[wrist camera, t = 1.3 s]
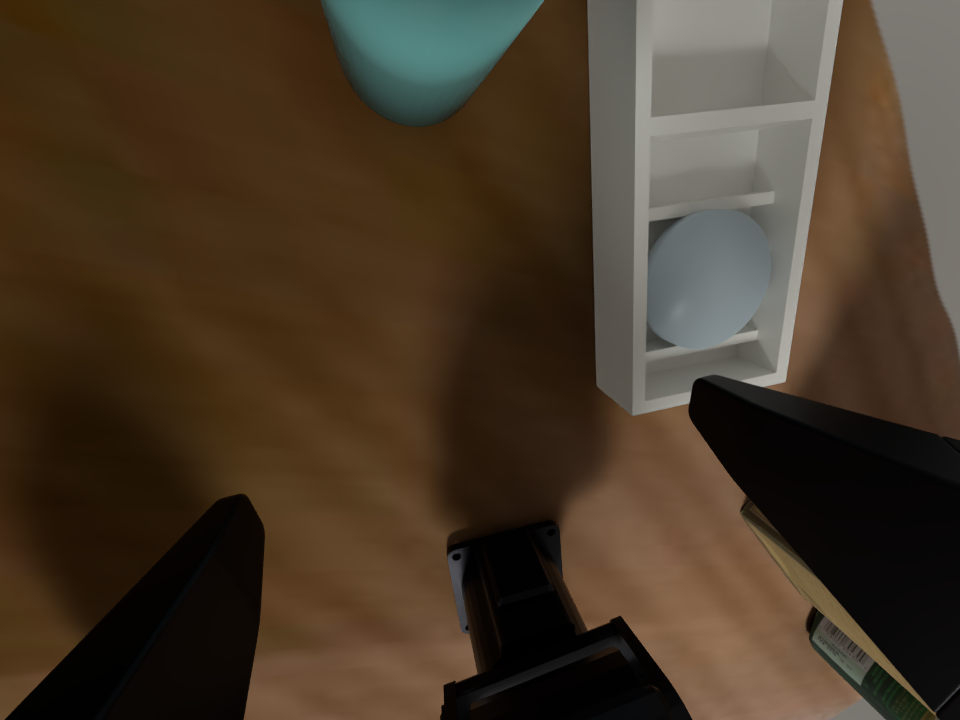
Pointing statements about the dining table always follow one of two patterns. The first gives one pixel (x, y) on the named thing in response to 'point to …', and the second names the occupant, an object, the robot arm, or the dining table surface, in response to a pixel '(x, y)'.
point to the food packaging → (816, 590)
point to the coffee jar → (865, 673)
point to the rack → (702, 186)
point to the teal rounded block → (422, 51)
